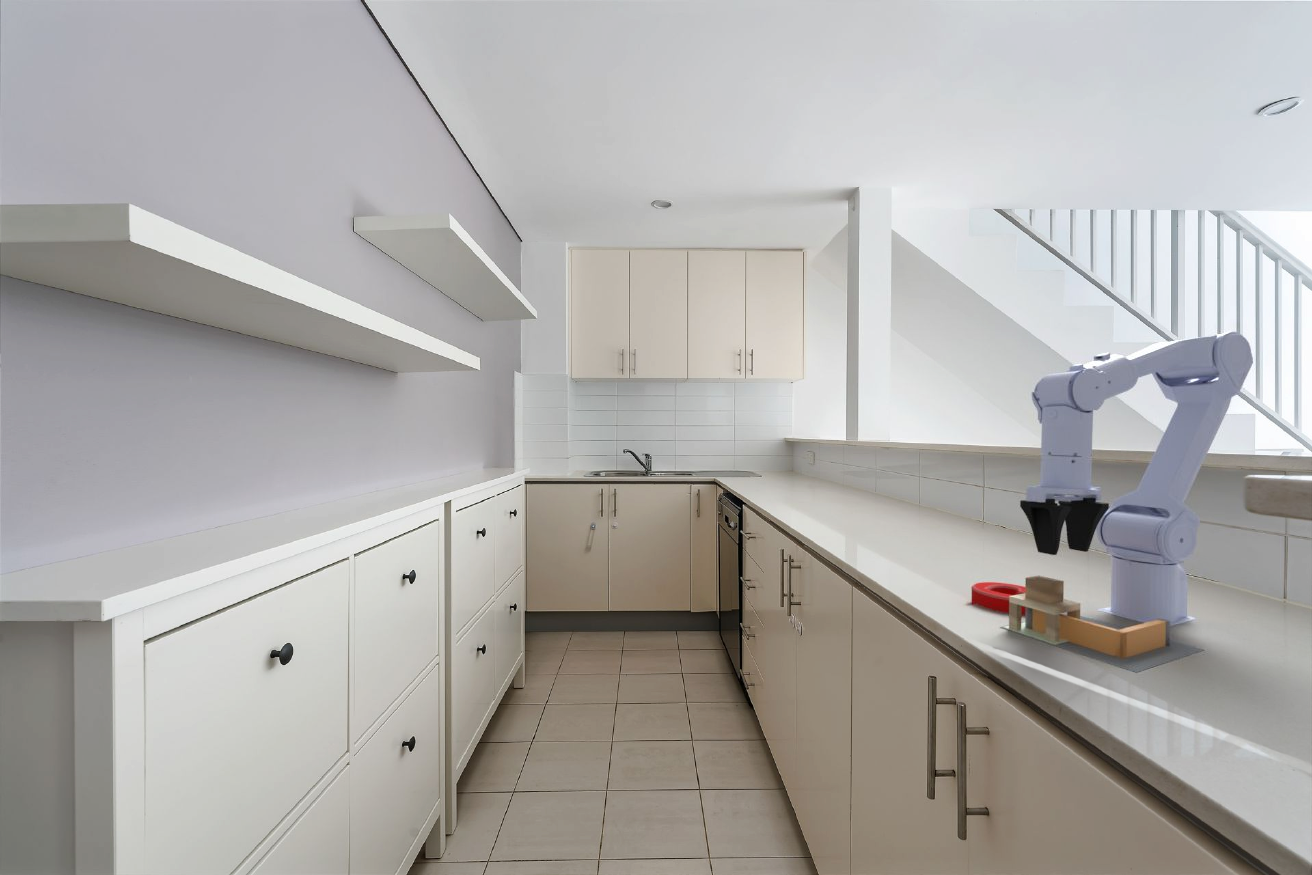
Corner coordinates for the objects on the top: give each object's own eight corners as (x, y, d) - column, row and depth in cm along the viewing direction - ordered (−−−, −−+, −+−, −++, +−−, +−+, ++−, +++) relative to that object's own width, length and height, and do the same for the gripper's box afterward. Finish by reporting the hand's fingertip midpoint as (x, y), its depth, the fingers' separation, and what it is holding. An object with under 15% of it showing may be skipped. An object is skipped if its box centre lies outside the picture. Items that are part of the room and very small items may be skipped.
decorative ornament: (957, 602, 86) (957, 582, 86) (1007, 599, 88) (1008, 580, 88) (1007, 622, 76) (1007, 600, 76) (1062, 618, 78) (1062, 597, 78)
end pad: (1031, 621, 74) (1031, 620, 74) (1084, 637, 68) (1084, 636, 68) (1003, 627, 72) (1003, 626, 72) (1055, 644, 66) (1055, 643, 66)
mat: (1067, 616, 78) (1067, 612, 78) (1204, 654, 65) (1204, 649, 65) (999, 631, 72) (999, 627, 72) (1136, 677, 58) (1136, 672, 58)
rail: (1070, 616, 76) (1071, 596, 76) (1171, 644, 66) (1171, 621, 66) (1023, 627, 72) (1023, 605, 72) (1124, 659, 61) (1124, 633, 61)
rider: (1034, 622, 74) (1034, 572, 74) (1080, 636, 68) (1080, 582, 68) (1008, 627, 71) (1009, 576, 71) (1054, 642, 66) (1055, 587, 66)
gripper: (1068, 456, 68) (1065, 561, 68) (1127, 458, 74) (1125, 554, 74) (1011, 454, 74) (1009, 550, 74) (1070, 456, 81) (1068, 544, 80)
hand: (1063, 551), depth 75 cm, fingers open, 7 cm apart
